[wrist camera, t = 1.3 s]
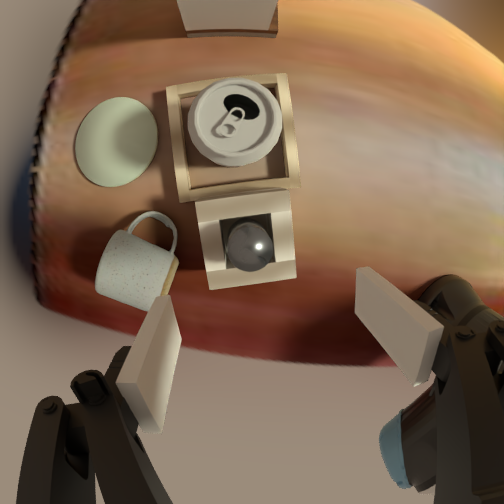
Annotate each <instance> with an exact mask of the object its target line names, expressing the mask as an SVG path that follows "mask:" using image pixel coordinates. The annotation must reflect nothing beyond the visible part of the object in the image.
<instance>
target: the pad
mask: <svg viewBox="0 0 504 504" xmlns="http://www.w3.org/2000/svg"><path fill="white" fill-rule="evenodd" d="M157 145H158V128H157V124H156V120H155V118H154V116H153V115H152V113H151V112H150V110H149V109H148V108H147V107H146V106H144V105H143V104H142V103H140V102H139V101H137V100H134V99H132V98H127V97H117V98H112V99H109V100H106V101H104V102H102V103H100V104H99V105H97V106H96V107H95V108H94V109H92V110H91V111H90V112H89V114H88V115H87V116H86V117H85V119H84V120H83V122H82V124H81V126H80V128H79V130H78V134H77V138H76V145H75V151H76V158H77V162H78V165H79V167H80V169H81V171H82V172H83V173H84V175H85V176H86V177H87V178H88V179H89V180H91V181H92V182H94V183H96V184H98V185H101V186H106V187H115V186H121V185H125V184H127V183H130V182H132V181H133V180H135V179H137V178H138V177H139V176H140V175H141V174H142V173H143V172H144V171H145V170H146V169H147V168H148V166H149V165H150V163H151V162H152V160H153V158H154V155H155V153H156V150H157Z"/></svg>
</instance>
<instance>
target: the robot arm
mask: <svg viewBox="0 0 504 504" xmlns="http://www.w3.org/2000/svg"><path fill="white" fill-rule="evenodd" d="M355 314H356V315H357V316H358V318H359V319H360V320H361V321H362V322H363V324H364V325H365V326H366V327H367V329H368V330H369V331H370V332H371V333H372V335H373V336H374V337H375V338H376V340H377V341H378V342H379V343H380V345H381V346H382V347H383V348H384V350H385V351H386V352H387V353H388V355H389V356H390V357H391V358H392V360H393V361H394V362H395V363H396V365H397V366H398V367H399V369H400V370H401V371H402V372H403V374H404V375H405V376H406V378H407V379H408V380H409V381H410V383H411V384H412V385H413V387H414V386H417V385H419V384H422V383H424V382H426V381H428V378H429V376H430V373H431V370H432V371H433V372H434V373H435V374H436V377H435V380H434V383H433V384H432V385H431V386H430V387H429V388H428V389H427V390H426V391H425V392H424V393H423V394H421V395H420V396H419V397H418V398H417V399H416V400H415V401H414V402H413V403H411V404H410V405H409V406H408V407H406V408H405V409H402V410H400V412H399V414H398V415H396V416H395V417H394V418H393V419H392V420H391V421H389V422H388V423H387V424H386V425H385V426H384V427H383V428H382V430H381V432H380V436H379V443H380V450H381V454H382V458H383V460H384V463H385V465H386V468H387V469H388V472H389V474H390V476H391V478H392V479H393V480H394V481H395V482H396V483H397V485H398V486H399V487H400V488H402V489H406V488H411V487H412V486H414V487H415V488H416V490H417V491H418V493H419V494H431V495H434V504H504V317H502V316H501V315H500V314H498V313H497V312H495V311H494V310H492V309H490V308H489V307H487V306H486V305H485V304H484V303H483V302H482V300H481V299H480V297H479V296H478V294H477V293H476V292H475V291H474V289H473V288H472V286H471V284H470V283H469V282H467V281H466V280H464V279H463V278H461V277H459V276H457V275H447V276H444V277H442V278H440V279H438V280H437V281H435V282H434V283H433V284H432V285H431V286H430V287H429V288H428V289H427V290H426V291H425V292H424V293H423V295H422V296H421V297H420V299H419V300H418V301H417V300H415V301H413V300H411V299H410V298H409V297H408V296H406V295H405V294H404V293H403V292H401V291H400V290H399V289H397V288H396V287H395V286H394V285H392V284H391V283H390V282H388V281H387V280H386V279H385V278H383V277H382V276H381V275H379V274H378V273H377V272H375V271H374V270H373V269H371V268H370V267H369V266H368V267H362V268H357V269H356V297H355ZM181 340H182V339H181V335H180V332H179V328H178V325H177V321H176V317H175V313H174V309H173V306H172V302H171V298H170V295H166V296H157V297H156V298H155V300H154V302H153V304H152V306H151V308H150V310H149V312H148V314H147V316H146V318H145V320H144V322H143V324H142V326H141V328H140V330H139V332H138V334H137V336H136V338H135V340H134V343H133V345H132V346H123V347H122V348H121V349H120V350H119V351H118V352H117V353H116V354H115V356H114V358H113V360H112V362H111V364H110V366H109V368H108V369H107V372H106V374H105V375H104V376H103V374H102V373H101V372H99V371H98V370H88V371H84V372H82V373H80V374H78V375H77V376H76V377H74V379H73V380H72V382H71V386H70V387H71V389H72V390H73V392H74V394H75V395H76V397H77V399H78V400H79V402H80V403H75V404H68V405H65V404H64V402H63V401H62V399H61V398H60V397H58V396H49V397H46V398H44V399H42V400H41V401H40V402H39V403H38V405H37V407H36V410H35V413H34V416H33V420H32V424H31V427H30V431H29V434H28V438H27V443H26V447H25V451H24V456H23V461H22V466H21V471H20V477H19V484H18V491H17V500H16V504H96V495H95V473H96V477H97V480H98V483H99V487H100V490H101V493H102V496H103V499H104V502H105V504H173V503H172V501H171V499H170V498H169V496H168V494H167V492H166V491H165V489H164V487H163V485H162V483H161V481H160V479H159V478H158V476H157V474H156V472H155V470H154V468H153V466H152V464H151V462H150V459H149V457H148V455H147V453H146V451H145V449H144V447H143V444H142V442H141V440H140V438H139V436H138V435H137V433H136V431H137V428H138V424H139V426H140V427H141V429H142V431H143V432H144V433H162V432H163V427H164V421H165V415H166V410H167V406H168V400H169V395H170V391H171V385H172V380H173V376H174V371H175V367H176V362H177V357H178V353H179V349H180V344H181Z"/></svg>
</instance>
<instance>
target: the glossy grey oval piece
mask: <svg viewBox="0 0 504 504" xmlns="http://www.w3.org/2000/svg"><path fill="white" fill-rule="evenodd" d="M227 253H228V257H229V259H230V261H231V263H232V264H233V265H234V266H235V267H236V268H238V269H240V270H242V271H246V272H254V271H258V270H260V269H262V268H264V267H265V266H266V265H267V264H268V263H269V261H270V260H271V258H272V255H273V244H272V241H271V239H270V237H269V235H268V234H267V232H266V231H265V229H264V227H263V226H262V224H261V223H260V222H258V221H257V220H255V219H252V218H242V219H239V220H237V221H235V222H234V223H233V224H232V225H231V227H230V228H229V231H228V235H227Z"/></svg>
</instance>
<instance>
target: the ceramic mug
mask: <svg viewBox="0 0 504 504" xmlns="http://www.w3.org/2000/svg"><path fill="white" fill-rule="evenodd" d="M147 217H154V218H155V219H157V220H159V221H161V222H163V223H164V224H165V225H166V227H170V228H171V229H172V230H173V235H174V240H173V245H172V248H171V250H170V251H167V250H165V249H163V248H160V247H158V246H156V245H153V244H151V243H149V242H147V241H145V240H143V239H141V238H139V237H137V236H134V235H132V234H131V233H132V231H133V229H134V228H135V226H136V225H137V224H138V223H139V222H140V221H141V220H143V219H144V218H147ZM177 236H178V235H177V229H176V226H175V225H174V223H173V221H172V220H171V219H170V218H169V217H167V216H166V215H164V214H162V213H160V212H156V211H150V212H146V213H143V214H142V215H140V216H138V217H137V218H136V219H135V220H134V221H133V222H132V223H131V225H130V226H129V228H128V229H127V231H124V230H118V231H116V232H115V234H113V236H112V237H111V239H110V240H109V242H108V244H107V246H106V248H105V250H104V252H103V255H102V257H101V260H100V262H99V266H98V269H97V273H96V280H95V289H96V291H97V292H98V293H99V294H102V295H104V296H107V297H109V298H112V299H115V300H117V301H120V302H122V303H125V304H128V305H131V306H134V307H136V308H139V309H142V310H145V311H149V310H150V308H151V306H152V304H153V302H154V300H155V298H156V297H157V296H166V295H168V292H169V289H170V286H171V283H172V281H173V278H174V275H175V272H176V270H177V267H178V264H179V261H178V259H177V257H176V256H175V255H174V251H175V249H176V245H177Z"/></svg>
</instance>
